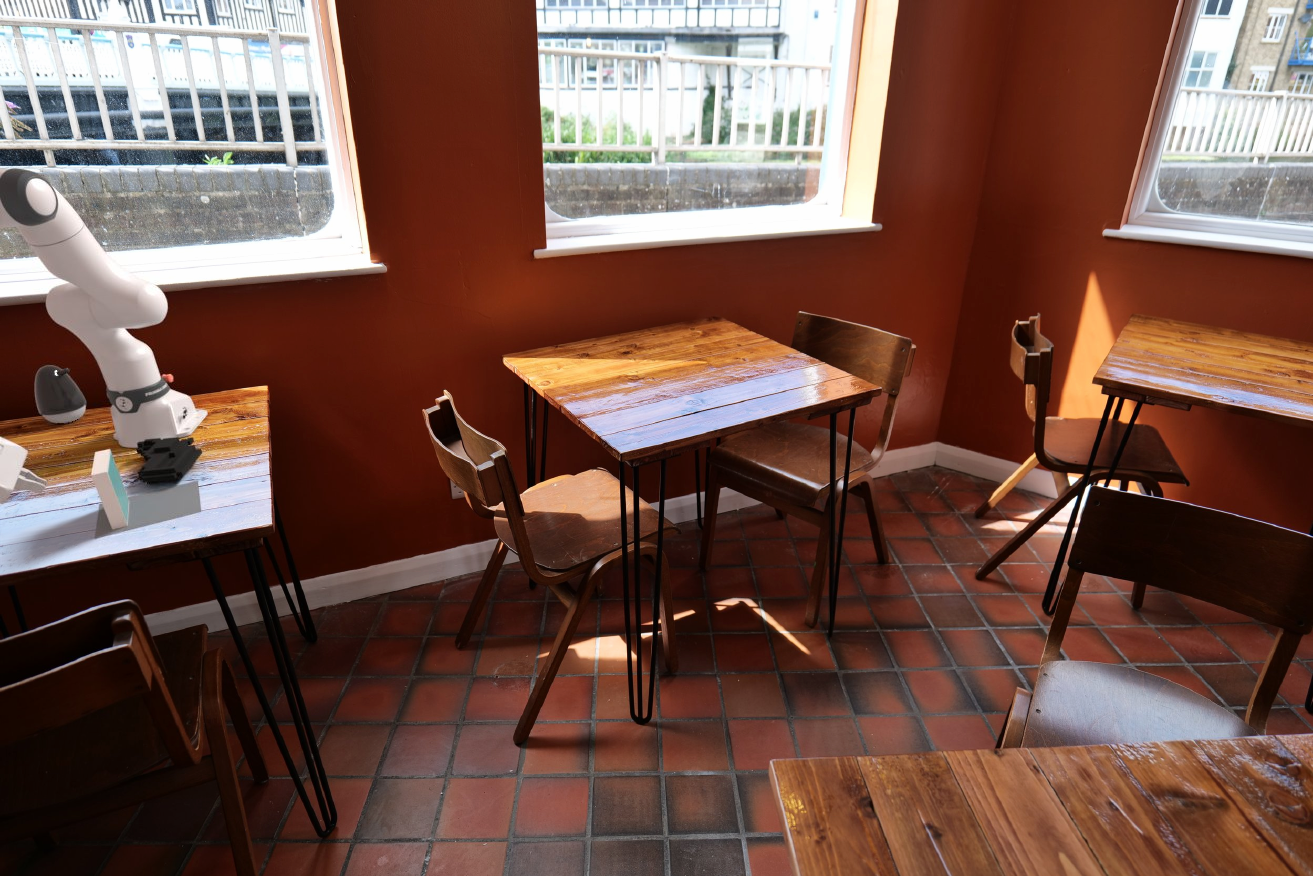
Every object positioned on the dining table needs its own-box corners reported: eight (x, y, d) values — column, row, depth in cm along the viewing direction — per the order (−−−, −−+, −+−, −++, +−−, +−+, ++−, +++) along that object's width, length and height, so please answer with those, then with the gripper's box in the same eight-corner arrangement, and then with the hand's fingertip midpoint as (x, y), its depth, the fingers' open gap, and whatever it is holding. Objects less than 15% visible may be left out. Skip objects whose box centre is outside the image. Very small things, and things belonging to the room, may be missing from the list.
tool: (99, 473, 158) (176, 465, 161) (141, 433, 176) (209, 427, 179) (108, 495, 161) (183, 487, 163) (148, 454, 179) (215, 447, 181)
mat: (95, 540, 144) (94, 538, 144) (100, 505, 156) (99, 503, 156) (201, 513, 152) (201, 511, 152) (198, 482, 165) (197, 480, 164)
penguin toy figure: (73, 427, 195) (51, 372, 188) (34, 428, 195) (11, 372, 189) (100, 412, 204) (81, 358, 198) (63, 412, 204) (42, 359, 198)
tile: (112, 529, 147) (91, 475, 141) (115, 504, 156) (95, 452, 151) (127, 525, 148) (107, 471, 143) (129, 500, 157) (110, 448, 152)
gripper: (-45, 461, 127) (47, 496, 135) (-22, 421, 143) (60, 454, 151) (-68, 491, 127) (26, 524, 135) (-42, 448, 143) (41, 480, 151)
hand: (44, 487), depth 143 cm, fingers closed
